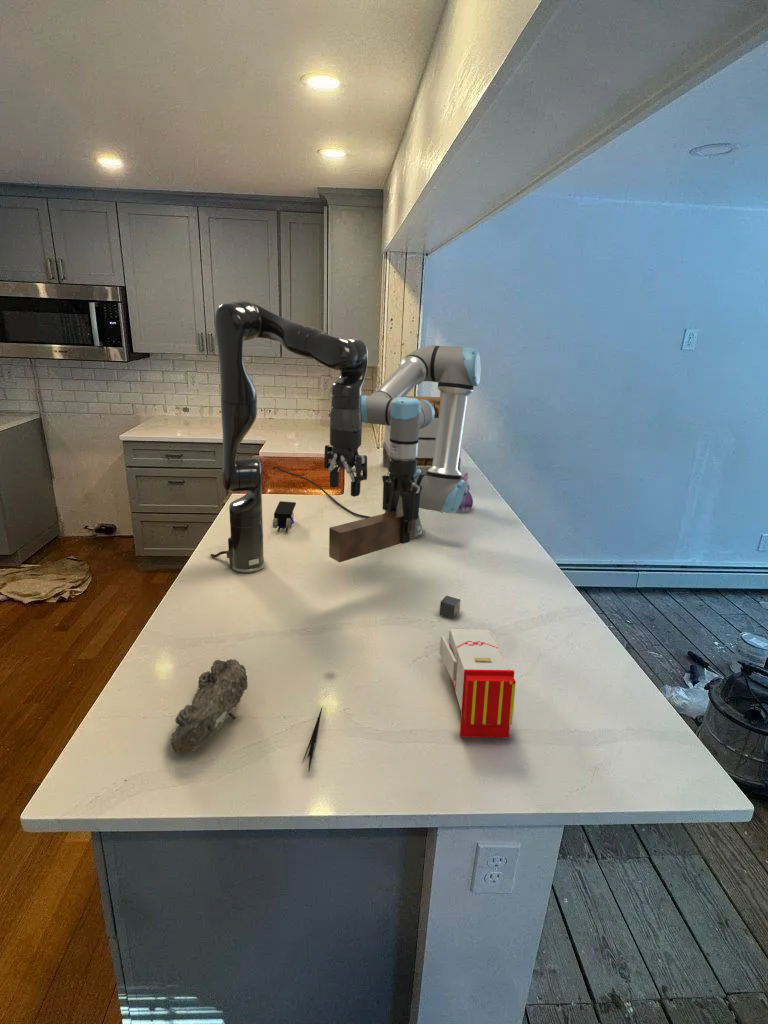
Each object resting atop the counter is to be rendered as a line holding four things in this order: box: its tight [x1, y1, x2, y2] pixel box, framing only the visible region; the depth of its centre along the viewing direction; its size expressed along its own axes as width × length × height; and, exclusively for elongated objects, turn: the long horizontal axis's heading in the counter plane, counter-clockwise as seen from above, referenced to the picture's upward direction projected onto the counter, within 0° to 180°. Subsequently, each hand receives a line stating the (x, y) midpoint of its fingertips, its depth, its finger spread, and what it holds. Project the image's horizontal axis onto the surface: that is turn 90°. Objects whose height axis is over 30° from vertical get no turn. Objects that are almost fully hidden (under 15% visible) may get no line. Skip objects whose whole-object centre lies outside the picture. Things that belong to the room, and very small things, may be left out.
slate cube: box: [439, 595, 461, 620], centre depth 148 cm, size 4×4×4 cm
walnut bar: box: [328, 509, 416, 563], centre depth 150 cm, size 26×4×8 cm, turn 131°
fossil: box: [170, 658, 249, 753], centre depth 106 cm, size 22×10×15 cm
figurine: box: [454, 472, 474, 514], centre depth 225 cm, size 9×10×15 cm
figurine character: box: [272, 500, 297, 533], centre depth 200 cm, size 7×8×15 cm
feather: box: [301, 673, 332, 771], centre depth 108 cm, size 2×28×2 cm
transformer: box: [381, 391, 463, 472], centre depth 268 cm, size 34×33×41 cm
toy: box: [438, 628, 517, 738], centre depth 117 cm, size 12×13×30 cm
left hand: (344, 491), depth 140 cm, fingers open, 8 cm apart
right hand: (398, 539), depth 157 cm, fingers closed on walnut bar, 4 cm apart
